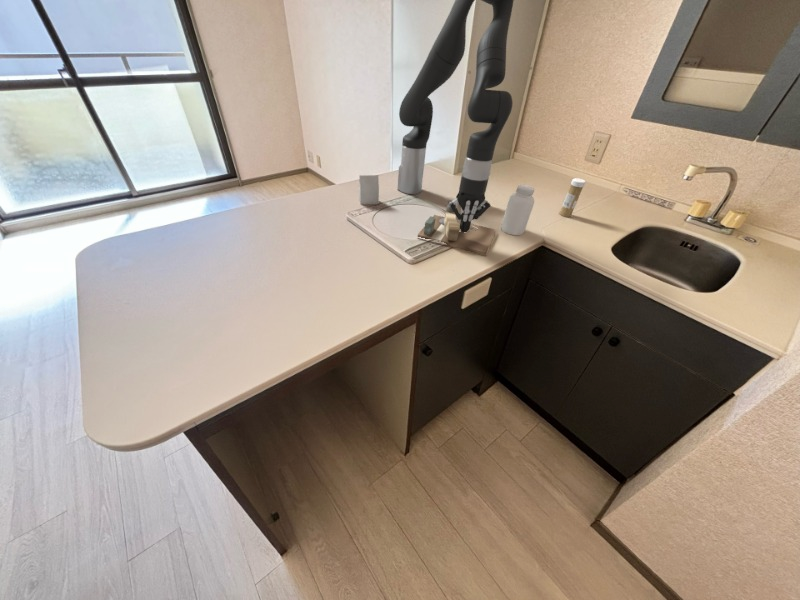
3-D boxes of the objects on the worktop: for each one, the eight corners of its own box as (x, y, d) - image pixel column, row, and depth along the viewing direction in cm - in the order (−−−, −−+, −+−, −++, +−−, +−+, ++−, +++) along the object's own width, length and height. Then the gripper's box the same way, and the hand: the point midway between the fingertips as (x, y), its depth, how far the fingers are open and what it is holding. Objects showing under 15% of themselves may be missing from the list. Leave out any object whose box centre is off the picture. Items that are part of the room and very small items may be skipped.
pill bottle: (525, 228, 114) (540, 186, 104) (522, 238, 108) (537, 194, 99) (502, 223, 116) (515, 181, 107) (498, 232, 110) (511, 188, 101)
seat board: (417, 238, 103) (419, 223, 100) (433, 217, 116) (435, 203, 112) (485, 256, 97) (489, 240, 94) (495, 232, 110) (499, 218, 107)
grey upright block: (378, 203, 122) (379, 177, 115) (360, 204, 120) (360, 177, 114) (376, 200, 124) (377, 173, 118) (359, 200, 123) (358, 173, 117)
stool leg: (443, 219, 111) (445, 204, 108) (452, 219, 111) (454, 205, 108) (447, 240, 100) (450, 224, 97) (456, 240, 100) (460, 225, 97)
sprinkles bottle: (573, 217, 125) (588, 182, 116) (562, 217, 124) (577, 182, 115) (567, 212, 128) (581, 177, 120) (556, 212, 127) (570, 177, 119)
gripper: (492, 170, 94) (479, 225, 105) (449, 169, 92) (440, 225, 103) (503, 179, 89) (488, 236, 99) (456, 179, 86) (446, 237, 97)
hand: (463, 231), depth 101 cm, fingers closed
